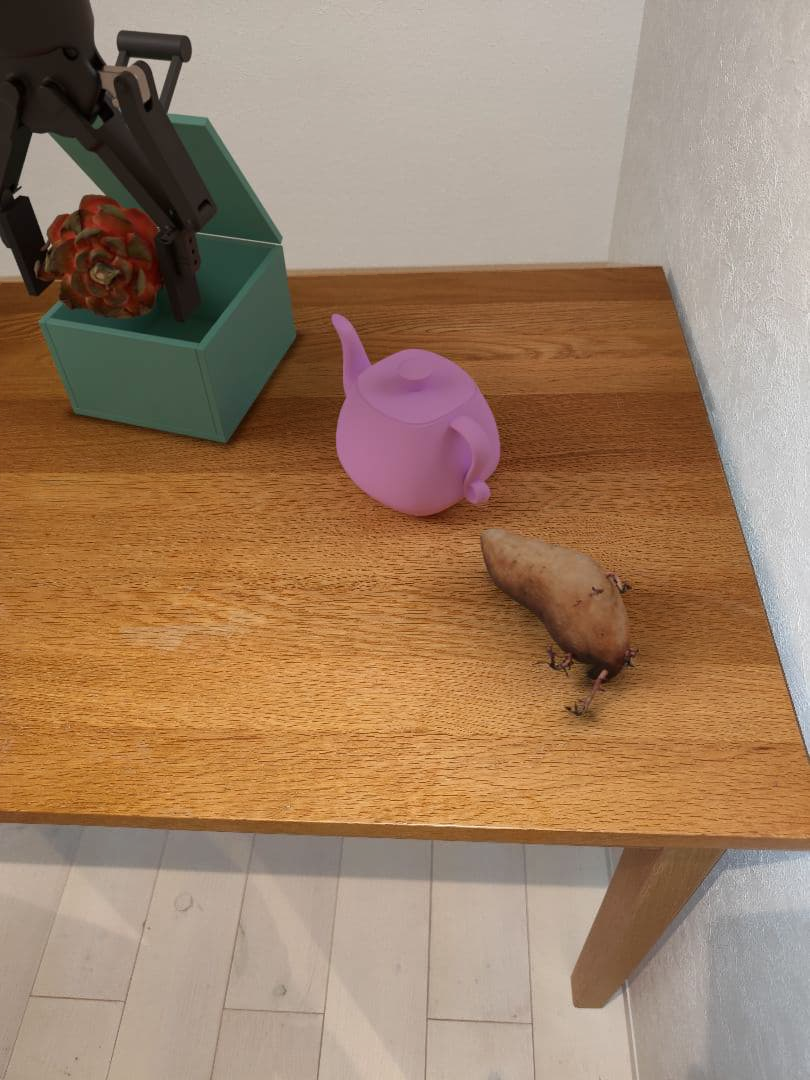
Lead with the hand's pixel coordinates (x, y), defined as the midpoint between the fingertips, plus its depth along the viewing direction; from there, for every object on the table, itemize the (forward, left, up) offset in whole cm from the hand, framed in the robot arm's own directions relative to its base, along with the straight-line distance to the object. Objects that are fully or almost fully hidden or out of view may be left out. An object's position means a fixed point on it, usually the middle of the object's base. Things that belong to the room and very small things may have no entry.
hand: (114, 299), depth 66 cm
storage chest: (-6, +16, -20) cm, 26 cm away
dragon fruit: (0, 0, 0) cm, 1 cm away
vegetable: (+35, -6, -20) cm, 40 cm away
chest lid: (-6, +19, -1) cm, 20 cm away
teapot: (+20, +9, -20) cm, 29 cm away
